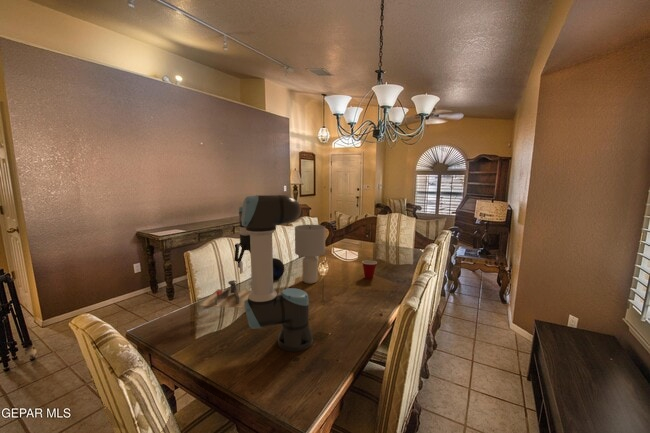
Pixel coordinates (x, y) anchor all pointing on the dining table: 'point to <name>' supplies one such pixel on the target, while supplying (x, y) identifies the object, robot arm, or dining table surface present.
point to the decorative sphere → (277, 268)
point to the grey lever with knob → (234, 290)
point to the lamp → (310, 249)
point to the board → (228, 300)
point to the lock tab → (219, 292)
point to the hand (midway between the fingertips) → (248, 273)
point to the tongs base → (224, 295)
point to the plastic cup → (369, 268)
